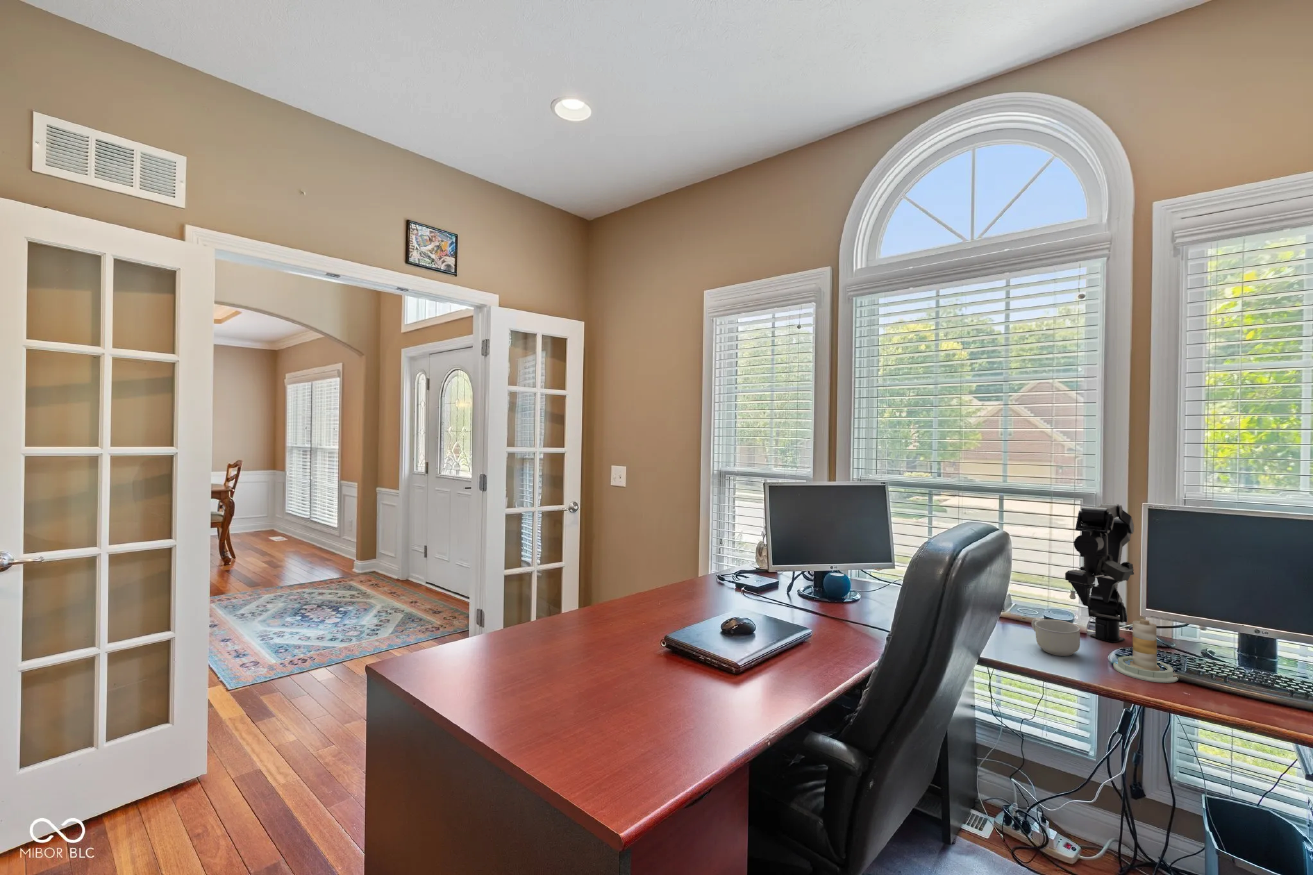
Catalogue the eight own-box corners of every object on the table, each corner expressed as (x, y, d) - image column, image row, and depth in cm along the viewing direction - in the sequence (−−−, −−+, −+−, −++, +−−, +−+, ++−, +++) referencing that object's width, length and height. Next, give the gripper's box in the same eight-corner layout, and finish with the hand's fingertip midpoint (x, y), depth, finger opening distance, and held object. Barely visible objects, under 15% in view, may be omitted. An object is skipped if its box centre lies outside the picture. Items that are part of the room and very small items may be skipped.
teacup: (1089, 659, 163) (1089, 630, 163) (1050, 659, 163) (1049, 630, 163) (1056, 642, 177) (1056, 615, 177) (1020, 642, 177) (1019, 615, 177)
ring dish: (1132, 660, 162) (1132, 652, 162) (1189, 677, 150) (1189, 669, 150) (1102, 667, 157) (1102, 659, 157) (1159, 686, 145) (1159, 677, 145)
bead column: (1131, 663, 158) (1131, 615, 158) (1161, 669, 153) (1160, 620, 153) (1128, 669, 153) (1127, 620, 154) (1158, 675, 149) (1157, 625, 149)
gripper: (1105, 558, 160) (1105, 615, 160) (1146, 552, 167) (1147, 607, 167) (1063, 551, 170) (1064, 604, 170) (1104, 546, 177) (1104, 597, 177)
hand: (1096, 603), depth 171 cm, fingers open, 9 cm apart
